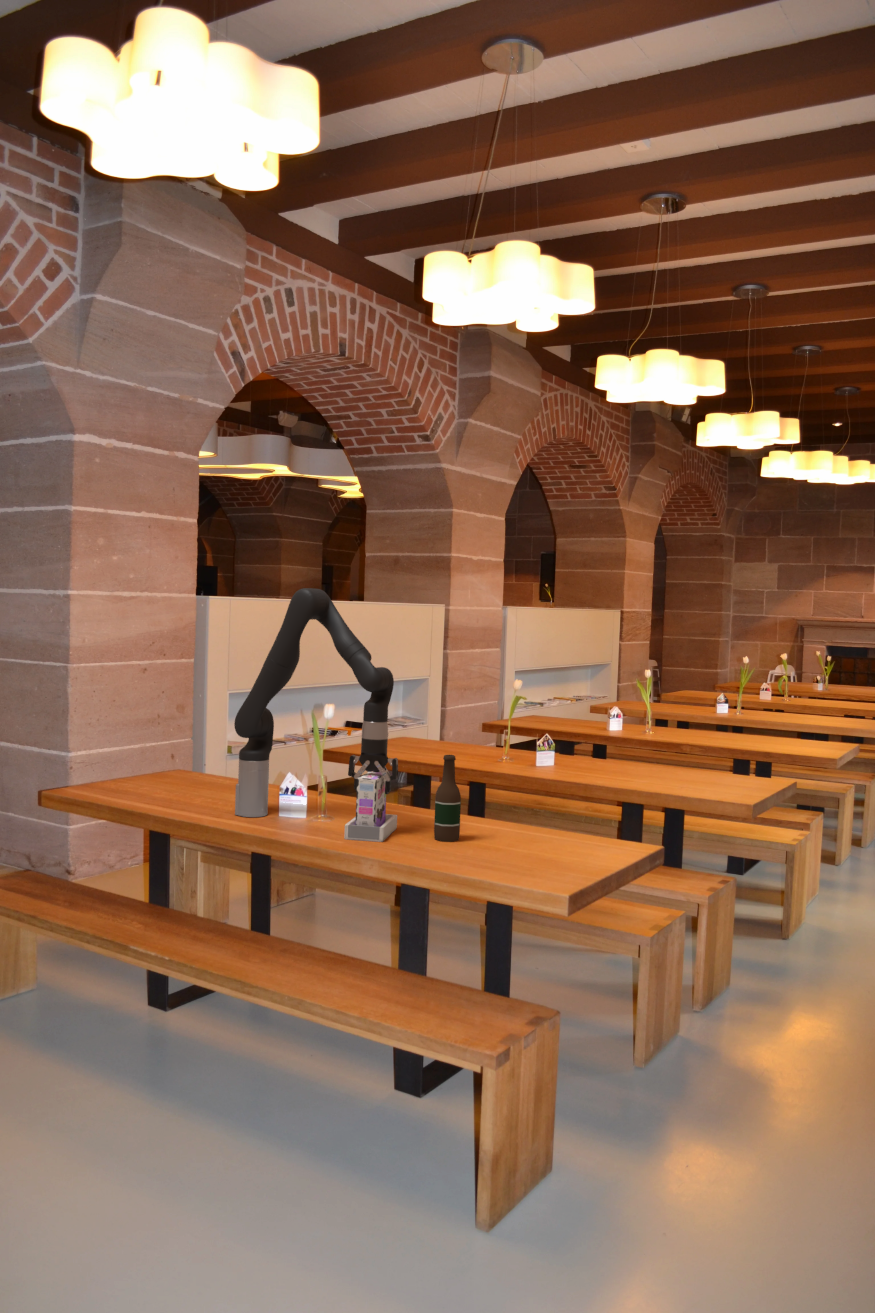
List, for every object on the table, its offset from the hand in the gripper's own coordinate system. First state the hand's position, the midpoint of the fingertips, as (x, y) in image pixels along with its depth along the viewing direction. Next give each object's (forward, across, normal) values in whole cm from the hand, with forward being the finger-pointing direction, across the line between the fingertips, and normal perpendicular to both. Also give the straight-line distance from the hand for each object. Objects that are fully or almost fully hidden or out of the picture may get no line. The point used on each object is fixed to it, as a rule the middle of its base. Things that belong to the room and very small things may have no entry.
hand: (372, 792), depth 285 cm
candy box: (+11, 0, 0) cm, 11 cm away
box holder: (+12, 0, 0) cm, 12 cm away
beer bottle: (+12, +22, 0) cm, 25 cm away
